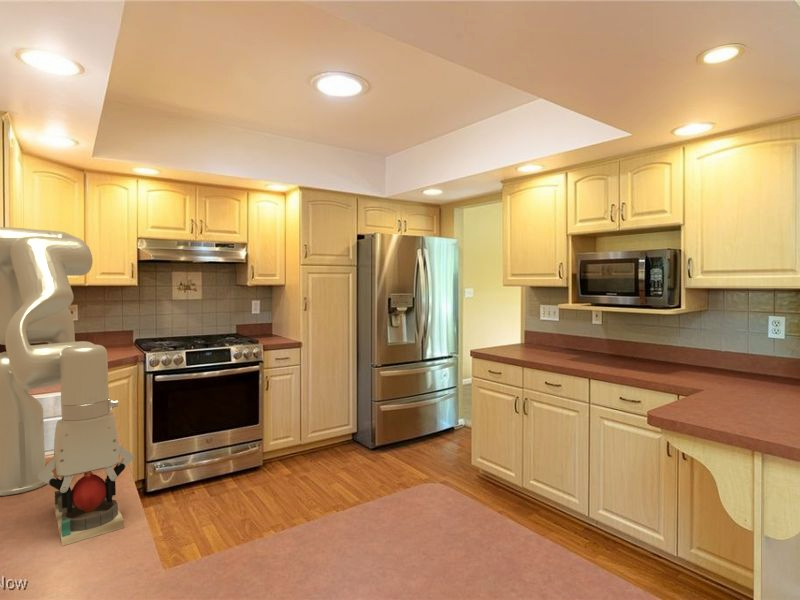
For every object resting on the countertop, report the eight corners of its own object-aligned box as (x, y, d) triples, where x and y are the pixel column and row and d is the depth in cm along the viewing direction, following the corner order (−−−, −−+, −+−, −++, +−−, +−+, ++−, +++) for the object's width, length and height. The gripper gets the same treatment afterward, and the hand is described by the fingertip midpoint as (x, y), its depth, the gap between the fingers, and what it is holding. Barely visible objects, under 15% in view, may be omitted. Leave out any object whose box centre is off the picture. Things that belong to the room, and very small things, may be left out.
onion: (76, 508, 92) (75, 467, 92) (110, 503, 94) (109, 463, 94) (67, 522, 86) (65, 478, 86) (103, 516, 88) (102, 473, 88)
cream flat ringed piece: (54, 510, 98) (53, 491, 98) (108, 496, 104) (108, 478, 104) (61, 546, 84) (61, 524, 84) (124, 527, 90) (123, 507, 90)
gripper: (133, 399, 98) (136, 486, 99) (27, 415, 87) (31, 512, 88) (141, 406, 92) (144, 498, 93) (28, 423, 81) (33, 527, 82)
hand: (89, 504), depth 90 cm, fingers closed on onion, 5 cm apart
